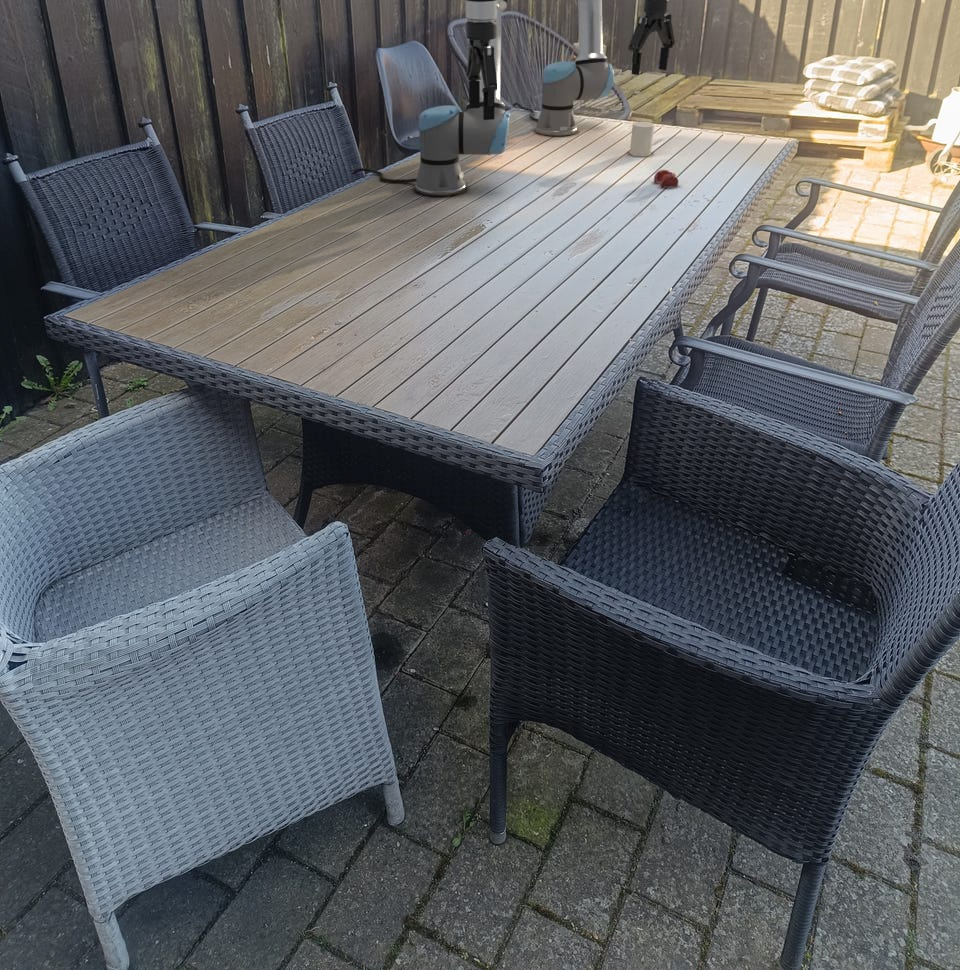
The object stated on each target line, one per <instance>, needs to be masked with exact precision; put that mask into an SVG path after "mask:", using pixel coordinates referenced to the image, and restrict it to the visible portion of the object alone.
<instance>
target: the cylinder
mask: <svg viewBox="0 0 960 970" xmlns="http://www.w3.org/2000/svg"><path fill="white" fill-rule="evenodd" d="M654 130H655V124H654V123H653V122H649V121H635V122H633V123H632V126H631V135H630V136H631V137H630V147H629V155H631V156H633V157H638V158H639V157H640V158H644V157H650V156H652V147H653V138H654Z"/></svg>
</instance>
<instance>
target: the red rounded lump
mask: <svg viewBox="0 0 960 970" xmlns="http://www.w3.org/2000/svg"><path fill="white" fill-rule="evenodd" d="M653 182H654V183H659V186H660V188H669V187H671V188H672V187H678V186H679V179H678V177H677V174H676V173H674V172H670V171H669V170H668V169H661V170H659V171H657V172H656V173H655V175H654V178H653Z"/></svg>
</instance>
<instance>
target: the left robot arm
mask: <svg viewBox="0 0 960 970" xmlns="http://www.w3.org/2000/svg"><path fill="white" fill-rule="evenodd" d="M508 2H510V0H465V18H466V19H467V21H466V22H465V35H466V38H467V40H469V47H468V56H467V65H466V73H465V75H466V77H467V79H468V102H467V104H465V111H460V110H459V107H458V106H457V105H449V104H447V105H439V106H438V105H437V106H434V107H429V108H427V109H425V110H423V111H422V112H421V113H420V114H419V117H418V118H419V119H418V120H419V121H418V132H419V157H420V158H419V159H420V161H419V162H420V164H419V168H418V172H417V176H416V178H408V179H407V178H406V179H403V178H402V179H400V178H399V179H398V178H397V179H394V178H385V177H384V175H383V174H384V173H383V172H382V171H380V170H379V171H378V170H375V169H371V168H367V167H359V168H356V169H354V170H353V172H352V173H351V175H356V174H357V173H359V172H368V173H372V174H376V175H379V179H380V180H381V181H382V182H386V183H415V185H414V186H415V192H417V193H418V194H420V195H424V196H430V197H450V196H455V195H459V194H461V193H463V192H464V191H466V181H465V179H464V176H465V175H464V172H463V171H462V169H461V165H460V155H476V156H477V155H479V156H480V155H482V156H483V155H486V156H487V155H488V156H492V155H501V154H503V153H504V152H505V151H506V149H507V148H506V147H507V142H508V136H509V129H510V128H509V127H510V121H511V113H510V112H508V111H506V104H505V103H504V102H503V101H502V100H501V86H502V85H501V77H502V74H501V72H502V70H501V69H502V13H503V12H504V11H505V10H506V9H507V7H508Z"/></svg>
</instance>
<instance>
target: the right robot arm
mask: <svg viewBox="0 0 960 970" xmlns="http://www.w3.org/2000/svg"><path fill="white" fill-rule="evenodd" d="M669 1H670V0H644V3H643V4H644V5H643V12H644V13H645V16H638V17H637V22H636V26H635V29H634V31H633V34H632V37H631V39H630V42H629V45H628V47H627V48H628V49H627V50H628V51H629V52H630V53H632V57H631V73H630V74H631V75H635V76H639V75H640V71H641V62H642V52H641V51H642V49H643V47H644V45H645V44H646V41H647V39H648V38H649V36H650V35H651V34H652V33H654V32H656V33H657V35H658V37H659V39H660V42H661V44H662V47H660V53H659V64H658V70H662V71H667V69H668V61H669V60H668V59H669V57H670V49H673V47H674V45H675V44H676V41H675V35H674V30H673V29H674V28H673V23H672V14H671V13H668V10H669ZM577 18H578V19H577V20H578V25H577V26H578V52H579V53H578V54H579V55H578V57H577V58H576V59H575V62H574V61H569V60H567V61H555V62H553V63H550V64H547V65H546V66H545V67H544V69H543V73H542V79H541V81H542V87H541V90H542V91H541V92H542V93H541V110H540V113H539V115H538V118H537V117H534V115H535V113H536V112H535V110H533V109H531V108H529V107H524V106H523V105H521V104H520V103H519V102H514V103H513V104H512V106H513V107H515V106H518V108H520V109H522V110H524V111H528V112H531V113H530V114H529V118H530V119H531V120H533V121H536V125H535V132H536V133H537V134H539V135H542V136H549V137H565V136H572V135H575V134H576V133H577V128H578V127H577V123H576V122H577V121H576V118H575V114H574V101H583V100H584V101H585V100H598V99H603V98H605V97H607V96H608V95H609V94H610V92H611V90H612V88H613V85H614V81H615V80H614V79H615V71H614V69H613V65H612V64H611V63H609V62H608V57H607V55H605V53H604V44H603V42H604V41H603V39H604V38H603V36H604V35H603V0H577Z"/></svg>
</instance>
